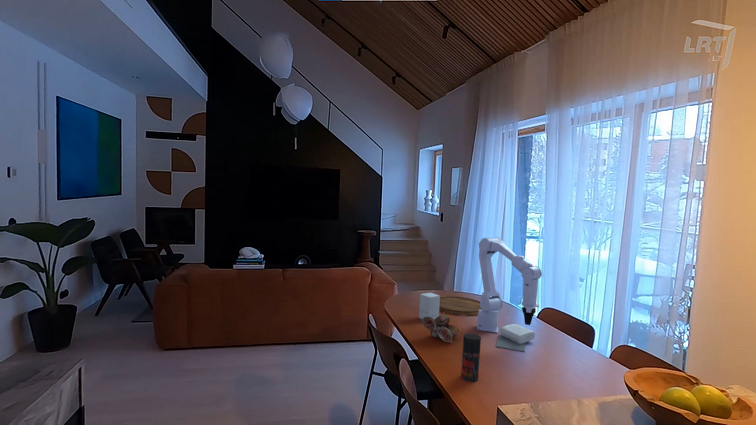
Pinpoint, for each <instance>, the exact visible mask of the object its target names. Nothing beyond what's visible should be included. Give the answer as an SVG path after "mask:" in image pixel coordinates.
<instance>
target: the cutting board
mask: <svg viewBox="0 0 756 425" xmlns="http://www.w3.org/2000/svg"><path fill="white" fill-rule="evenodd" d="M480 301H481V300H480ZM480 301H479V300H477V299H473V298H468V297H463V296H452V295H451V296H450V295H449V296H440V304H439V312H440V311H442V312H441V313H443V312H445V313H444V314H447V313H450V314H449V315H451V314H455V315H454V316H458V315H466V316H465V317H478V316H477V315H478V312H479V310H482V309H481V306H480Z"/></svg>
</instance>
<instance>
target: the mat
mask: <svg viewBox="0 0 756 425" xmlns="http://www.w3.org/2000/svg"><path fill="white" fill-rule="evenodd" d="M495 347H496V348H499V349H505V350H510V351H517V352H521V353H525V351H526V342H525V343H521V344H519V343H516V342H514V341H512V340H510V339H508V338H506V337H504V336H503V335H502V334H501V333H499V334H498V337H497V341H496V345H495Z"/></svg>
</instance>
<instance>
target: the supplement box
mask: <svg viewBox="0 0 756 425" xmlns="http://www.w3.org/2000/svg"><path fill="white" fill-rule="evenodd" d="M440 297H441V295H440V294H436V293H433V292H425V293H424V292H423V293H420V295H419V308H418V309H419V312H418V318H419V319H420V320H423V318H424V317H432V318H433V319H434V320H435V319H436V318H437V317H438V316H440V311H439V304H440Z"/></svg>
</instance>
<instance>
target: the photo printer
mask: <svg viewBox="0 0 756 425" xmlns="http://www.w3.org/2000/svg"><path fill="white" fill-rule="evenodd" d="M500 334H502V335H503V336H504V337H506V338H508V339H510V340H512V341H514V342H516V343H519V344H521V343H525V344H526V343H527V342H531V341H533V340H534V339H535V336H536V333H535V332H534V330H532V329H528V328H527V327H525V326H522V325H520V324H517V323H512V324H507V325H505V326H503V327H501V328H500Z"/></svg>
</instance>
